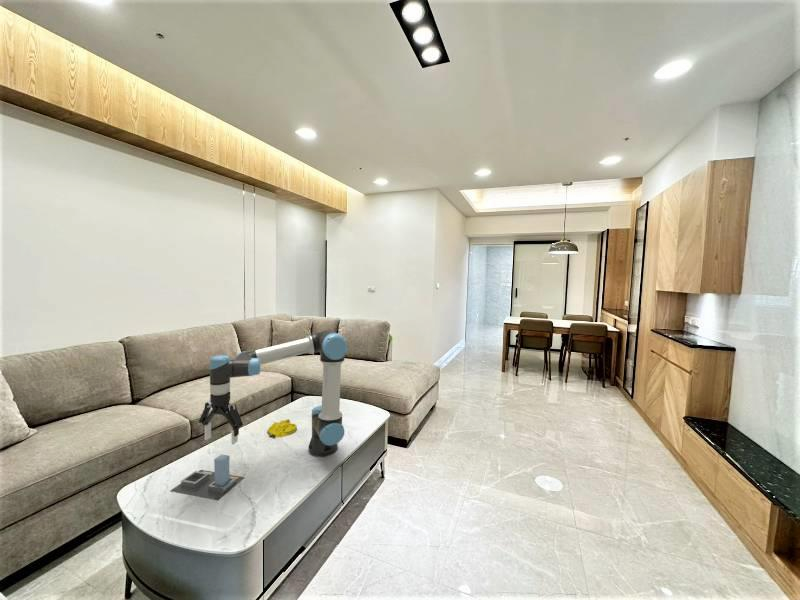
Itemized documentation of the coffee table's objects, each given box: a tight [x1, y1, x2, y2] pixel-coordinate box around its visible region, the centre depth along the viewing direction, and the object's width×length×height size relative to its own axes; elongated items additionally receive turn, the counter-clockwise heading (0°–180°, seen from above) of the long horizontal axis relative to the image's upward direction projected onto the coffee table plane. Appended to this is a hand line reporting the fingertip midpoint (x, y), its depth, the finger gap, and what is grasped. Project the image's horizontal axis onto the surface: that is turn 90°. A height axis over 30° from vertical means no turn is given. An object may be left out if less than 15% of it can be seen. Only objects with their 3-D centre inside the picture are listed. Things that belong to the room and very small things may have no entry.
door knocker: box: [266, 419, 297, 439], centre depth 196 cm, size 17×16×4 cm
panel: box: [170, 469, 246, 501], centre depth 143 cm, size 24×16×3 cm, turn 77°
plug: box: [213, 454, 231, 487], centre depth 141 cm, size 4×5×13 cm
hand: (221, 440), depth 140 cm, fingers open, 13 cm apart
